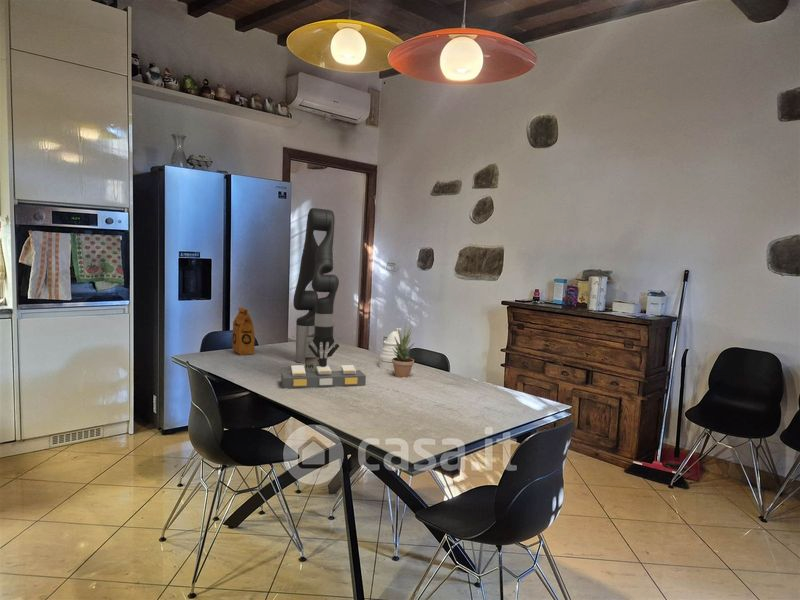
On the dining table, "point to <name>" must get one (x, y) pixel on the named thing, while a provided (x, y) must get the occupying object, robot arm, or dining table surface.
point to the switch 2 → (323, 370)
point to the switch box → (322, 379)
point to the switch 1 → (298, 370)
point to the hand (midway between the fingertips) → (322, 367)
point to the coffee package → (243, 333)
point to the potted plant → (403, 356)
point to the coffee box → (311, 355)
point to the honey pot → (389, 350)
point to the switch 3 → (348, 369)
